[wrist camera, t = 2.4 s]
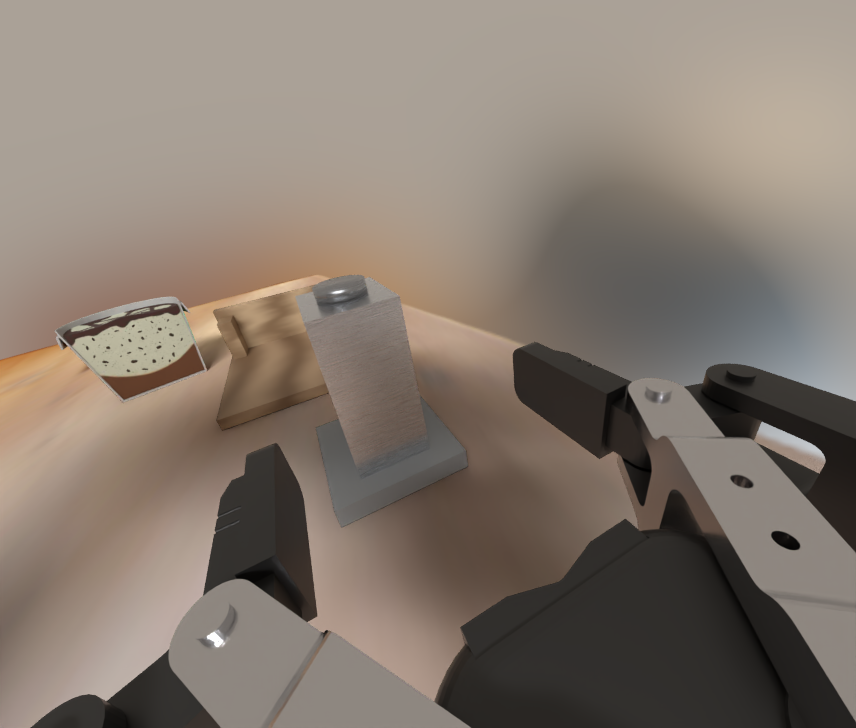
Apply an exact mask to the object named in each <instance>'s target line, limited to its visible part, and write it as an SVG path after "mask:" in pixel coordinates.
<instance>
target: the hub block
mask: <svg viewBox="0 0 856 728" xmlns="http://www.w3.org/2000/svg"><path fill="white" fill-rule="evenodd" d="M312 291H313V292H309V293H306V294H302V295H298V296H295V298H296V301H297V304H298V307H299V310H300V313H301V316H302V319H303V322H304V325H305V328H306V331H307V333H308V336H309V339H310V342H311V344H312V347H313V350H314V353H315V355H316V358H317V361H318V364H319V366H320V369H321V372H322V375H323V377H324V380H325V383H326V385H327V388H328V391H329V394H330V396H331V399H332V402H333V405H334V407H335V410H336V413H337V416H338V418H339V421H340V424H341V427H342V429H343V432H344V435H345V438H346V440H347V443H348V446H349V448H350V451H351V454H352V457H353V459H354V462H355V465H356V468H357V470H358V473H359V476H360V479H361V480H362V479H364V478H366V477H368V476H371V475H373V474H375V473H377V472H380V471H382V470H384V469H386V468H389V467H391V466H393V465H395V464H397V463H400V462H402V461H404V460H406V459H409V458H411V457H413V456H415V455H418V454H420V453H422V452H424V451H427V450H429V449H430V446H429V441H428V436H427V431H426V426H425V421H424V416H423V411H422V406H421V401H420V396H419V391H418V386H417V381H416V376H415V371H414V366H413V361H412V356H411V351H410V346H409V341H408V336H407V331H406V326H405V321H404V316H403V311H402V306H401V301H400V297H399V295H397V294H396V293H394V292H392V291H391V290H389V289H388V288H386V287H385V286H383V285H381V284H380V283H378V282H377V281H375V280H373V279H372V278H370V277H369V278H364V276H362V275H348V276H342V277H337V278H333V279H329V280H326V281H323V282H320V283H318V284H316V285H315V286H313V287H312Z"/></svg>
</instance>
